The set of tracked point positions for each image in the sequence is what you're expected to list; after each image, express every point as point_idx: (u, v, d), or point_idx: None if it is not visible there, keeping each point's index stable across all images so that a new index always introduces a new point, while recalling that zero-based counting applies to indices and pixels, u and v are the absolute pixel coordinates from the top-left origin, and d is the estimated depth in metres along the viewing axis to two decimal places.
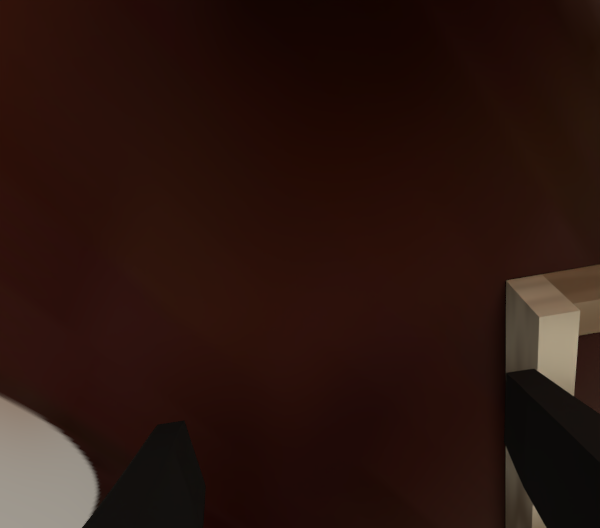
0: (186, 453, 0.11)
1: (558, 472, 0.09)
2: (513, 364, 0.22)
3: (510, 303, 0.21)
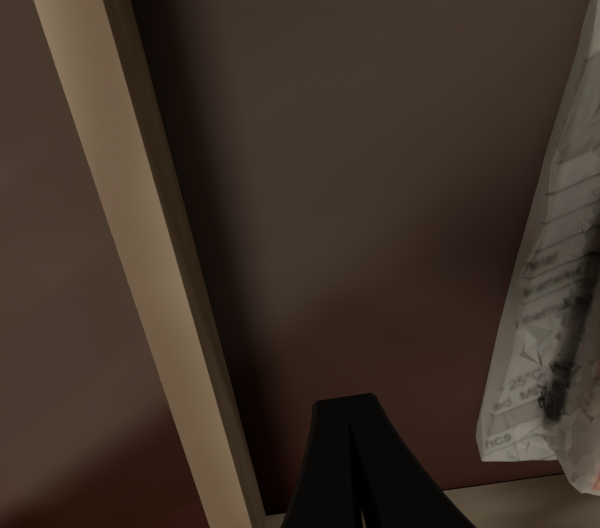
0: None
1: (367, 499, 0.09)
2: None
3: None
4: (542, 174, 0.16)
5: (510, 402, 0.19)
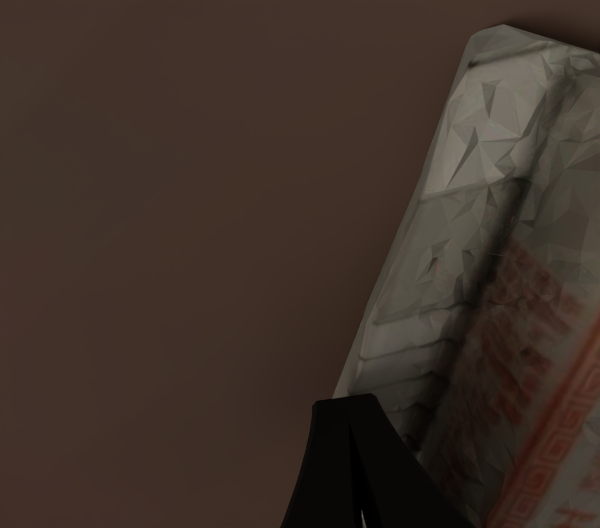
0: None
1: (367, 500, 0.09)
2: None
3: None
4: (361, 325, 0.12)
5: None
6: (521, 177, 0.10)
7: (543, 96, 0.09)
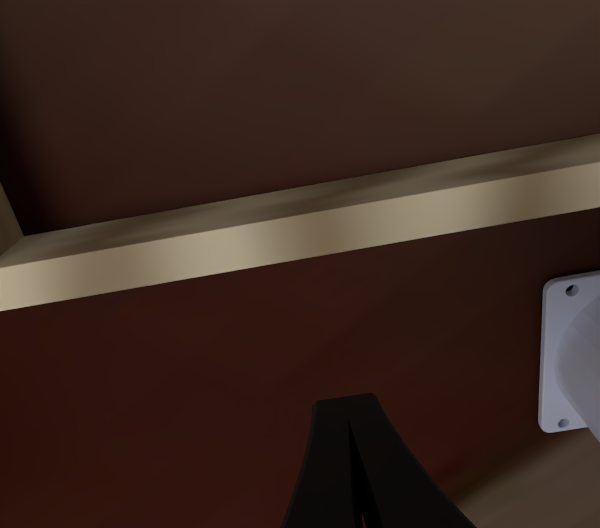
0: None
1: (367, 499, 0.09)
2: None
3: None
4: None
5: None
6: None
7: None
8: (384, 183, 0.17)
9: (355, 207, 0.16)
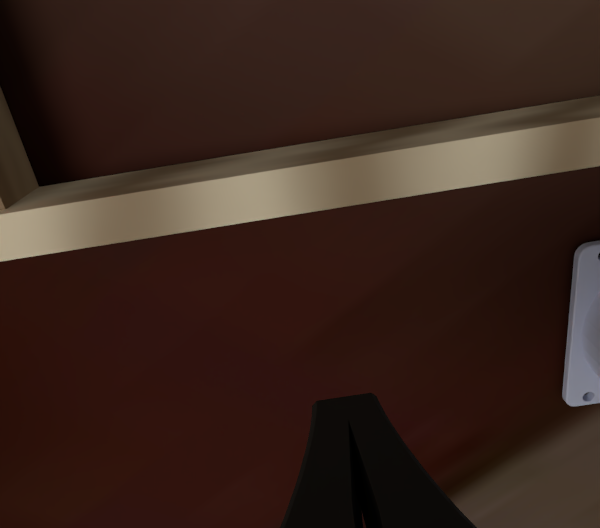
0: None
1: (367, 499, 0.09)
2: None
3: None
4: None
5: None
6: None
7: None
8: (419, 133, 0.17)
9: (392, 153, 0.15)
